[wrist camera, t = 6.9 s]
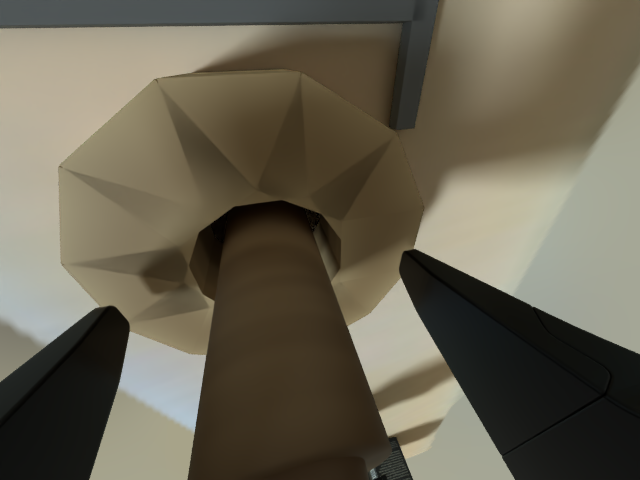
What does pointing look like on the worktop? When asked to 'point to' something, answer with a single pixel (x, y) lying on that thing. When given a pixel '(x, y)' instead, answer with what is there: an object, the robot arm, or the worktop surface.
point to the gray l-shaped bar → (253, 9)
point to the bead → (230, 194)
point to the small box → (393, 465)
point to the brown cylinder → (281, 363)
